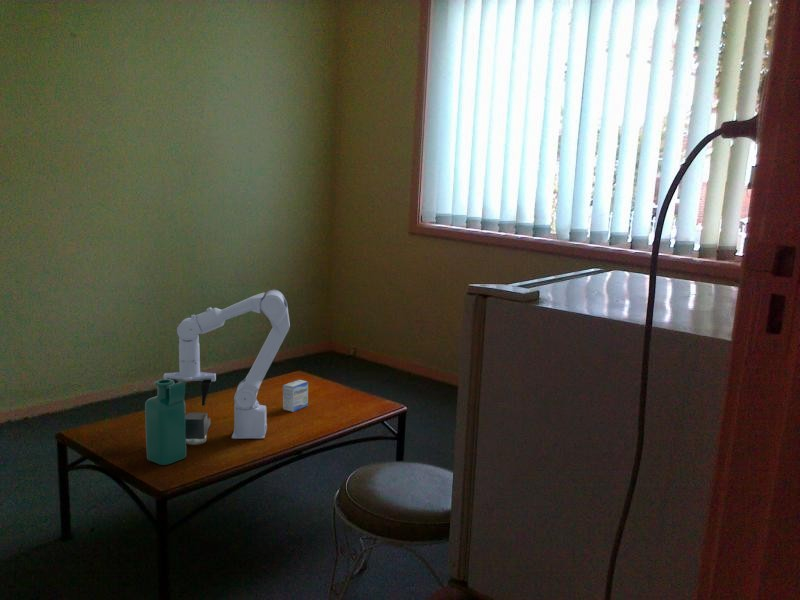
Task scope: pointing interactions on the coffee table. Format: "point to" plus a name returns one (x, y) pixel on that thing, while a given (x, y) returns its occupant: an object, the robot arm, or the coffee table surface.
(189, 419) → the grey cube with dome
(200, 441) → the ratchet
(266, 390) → the coffee table surface
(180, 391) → the teal green bottle
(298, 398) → the medicine box
